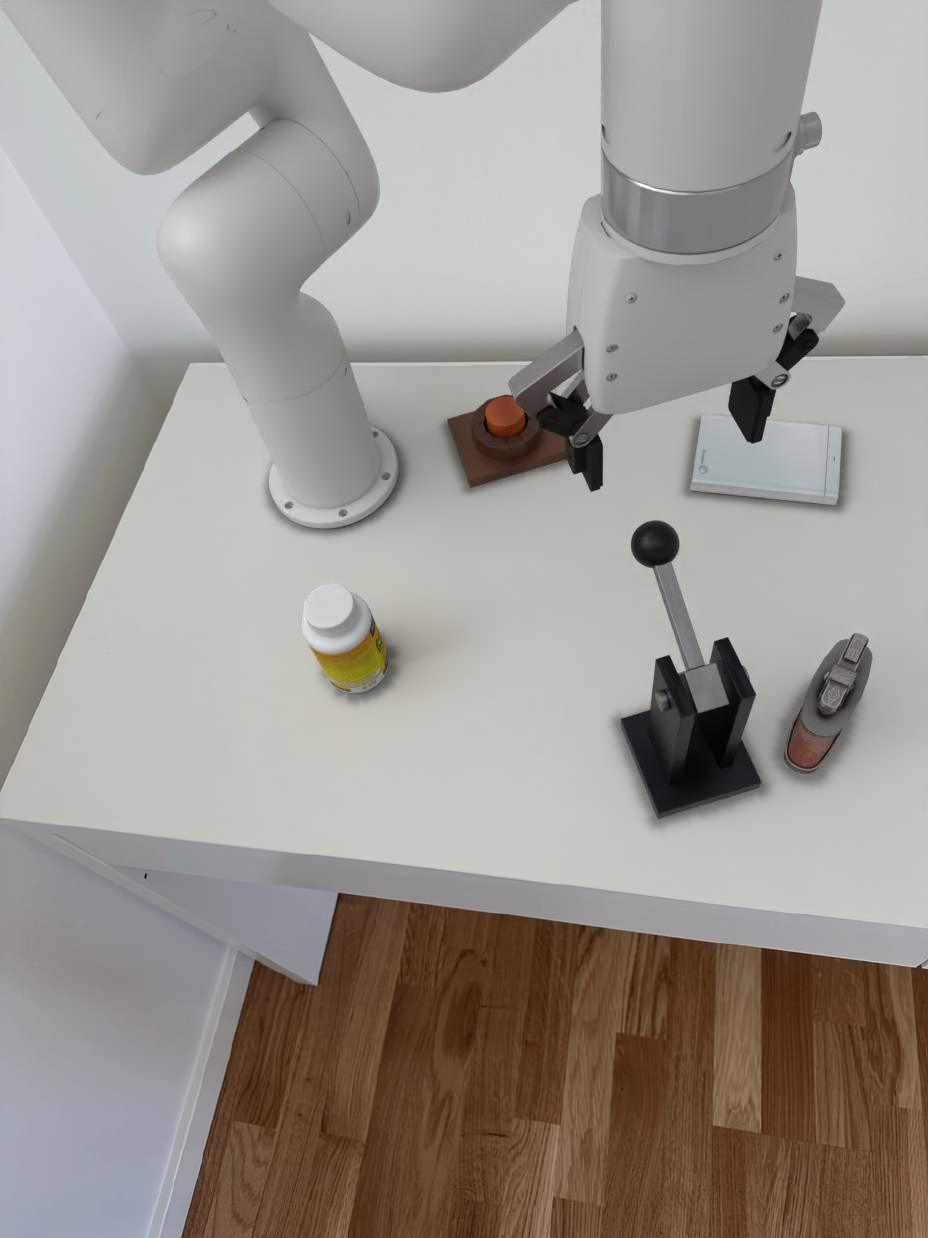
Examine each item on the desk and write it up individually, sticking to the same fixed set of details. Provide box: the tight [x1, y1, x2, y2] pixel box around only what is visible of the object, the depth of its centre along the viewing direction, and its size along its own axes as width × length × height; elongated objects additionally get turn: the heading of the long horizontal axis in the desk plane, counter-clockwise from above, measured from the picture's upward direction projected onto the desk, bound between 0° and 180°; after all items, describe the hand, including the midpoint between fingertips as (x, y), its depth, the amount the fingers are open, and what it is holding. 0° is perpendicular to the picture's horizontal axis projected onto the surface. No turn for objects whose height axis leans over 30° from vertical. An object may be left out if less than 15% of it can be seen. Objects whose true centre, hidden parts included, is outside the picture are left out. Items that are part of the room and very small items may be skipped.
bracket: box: [620, 636, 762, 820], centre depth 64 cm, size 8×8×14 cm
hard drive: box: [689, 412, 843, 506], centre depth 82 cm, size 2×8×12 cm
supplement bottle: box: [300, 583, 390, 694], centre depth 74 cm, size 6×6×10 cm
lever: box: [630, 519, 729, 714], centre depth 60 cm, size 13×3×3 cm, turn 15°
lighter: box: [783, 632, 873, 775], centre depth 66 cm, size 8×3×10 cm, turn 148°
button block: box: [446, 394, 567, 488], centre depth 87 cm, size 10×8×3 cm
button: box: [485, 397, 525, 438], centre depth 85 cm, size 4×4×2 cm
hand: (666, 448), depth 52 cm, fingers open, 9 cm apart
